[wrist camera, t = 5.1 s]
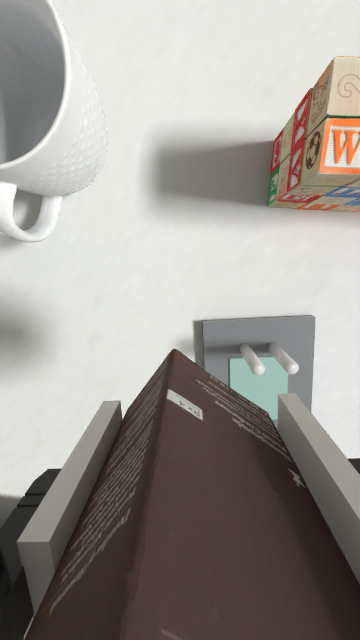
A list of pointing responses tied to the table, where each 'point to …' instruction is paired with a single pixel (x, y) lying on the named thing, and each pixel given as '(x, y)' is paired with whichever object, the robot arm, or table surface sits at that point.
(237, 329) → the grey pegged stand
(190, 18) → the table surface
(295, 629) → the box
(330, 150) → the stack of blocks
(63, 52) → the mug
